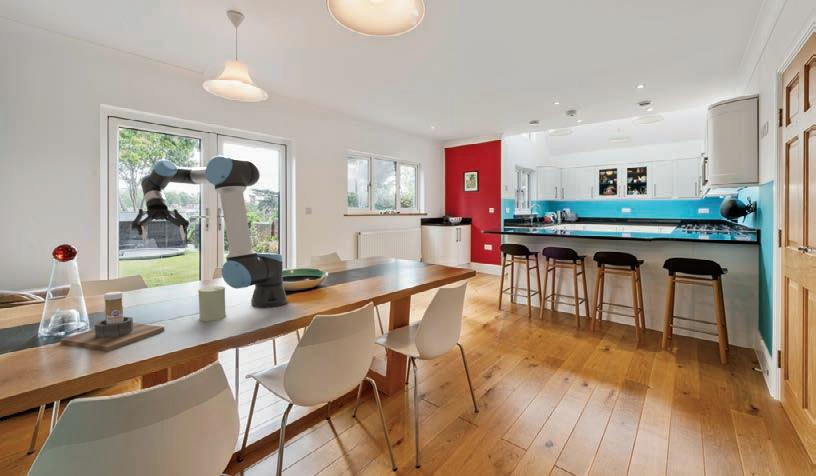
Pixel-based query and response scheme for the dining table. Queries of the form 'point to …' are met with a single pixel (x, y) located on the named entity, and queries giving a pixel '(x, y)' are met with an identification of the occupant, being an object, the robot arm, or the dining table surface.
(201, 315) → the can
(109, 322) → the sprinkles bottle
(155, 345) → the dining table surface
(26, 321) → the dining table surface
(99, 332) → the bottle holder
